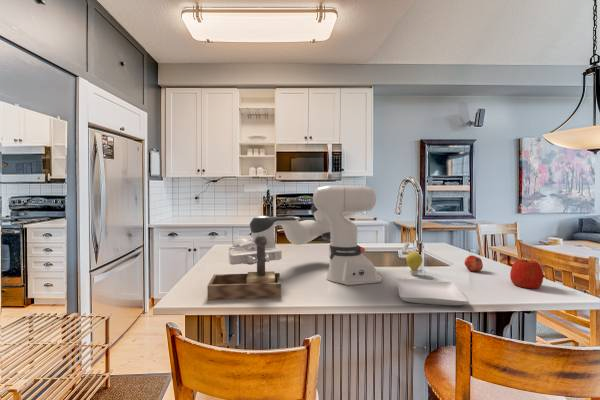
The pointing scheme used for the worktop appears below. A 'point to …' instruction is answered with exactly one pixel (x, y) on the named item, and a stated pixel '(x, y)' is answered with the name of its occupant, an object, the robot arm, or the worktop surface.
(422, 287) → the salad plate
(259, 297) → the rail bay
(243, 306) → the worktop surface
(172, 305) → the worktop surface
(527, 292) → the worktop surface
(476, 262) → the pomegranate
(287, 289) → the worktop surface
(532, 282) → the apple
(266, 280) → the knobbed upright rod
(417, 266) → the light bulb
